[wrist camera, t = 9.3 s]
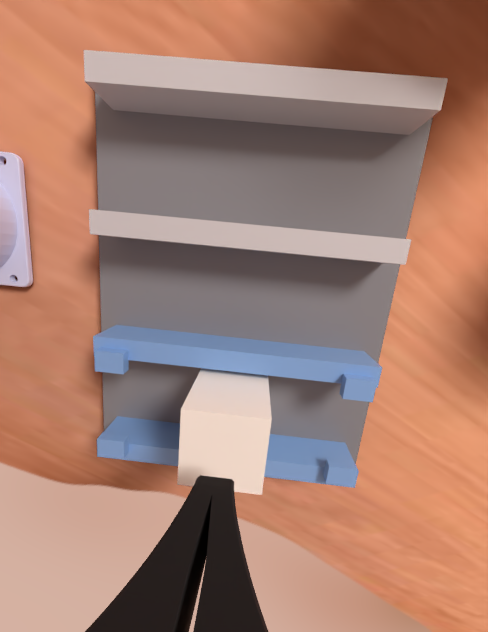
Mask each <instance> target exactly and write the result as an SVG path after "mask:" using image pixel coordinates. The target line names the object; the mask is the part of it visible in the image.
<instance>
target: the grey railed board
mask: <svg viewBox="0 0 488 632" xmlns="http://www.w3.org/2000/svg"><path fill="white" fill-rule="evenodd" d="M84 73H85V82H86V83H87V84H88V85H89V86H90V87H91V88H92V89H93V90H94V91H95V105H96V143H97V182H98V210H93V209H89V223H90V234H95V235H99V258H100V297H101V333H99V334H97V335H95V336H93V343H94V358H95V371H97V372H102V373H103V411H104V432H103V433H102V434H101V435H100V436H99V437H98V438H97V457H105V458H113V459H122V460H130V461H138V462H146V463H155V464H163V465H171V466H178V461H179V439H180V417H181V408H182V406H183V404H184V402H185V400H186V398H187V396H188V394H189V392H190V390H191V388H192V386H193V384H194V382H195V380H196V378H197V376H198V374H199V372H200V370H201V368H205V369H214V370H223V371H232V372H241V373H250V374H259V375H268V381H269V393H270V405H271V416H272V421H271V429H270V436H269V444H268V451H267V459H266V466H265V474H264V477H270V478H279V479H287V480H295V481H304V482H312V483H320V484H328V485H337V486H345V487H353V488H355V484H356V480H357V476H358V469H357V467H356V465H355V464H356V460H357V455H358V451H359V446H360V442H361V437H362V433H363V428H364V424H365V419H366V415H367V410H368V406H369V402H373V398H374V394H375V389H376V387H377V388H378V384H379V379H380V375H381V370H382V367H381V366H380V365H379V364H378V361H379V357H380V352H381V348H382V343H383V339H384V334H385V330H386V325H387V321H388V316H389V312H390V307H391V303H392V298H393V294H394V289H395V285H396V280H397V276H398V271H399V267H400V264H403V265H406V261H407V256H408V252H409V248H410V243H411V240H410V239H406V236H407V231H408V227H409V222H410V218H411V213H412V209H413V204H414V200H415V195H416V191H417V186H418V182H419V177H420V173H421V168H422V164H423V159H424V155H425V151H426V146H427V142H428V137H429V133H430V128H431V124H432V119H433V116H434V115H435V114H437V113H438V112H439V111H440V110H441V107H442V103H443V98H444V94H445V90H446V85H447V81H448V78H438V77H425V76H412V75H399V74H387V73H374V72H361V71H348V70H335V69H322V68H310V67H297V66H284V65H271V64H258V63H245V62H233V61H220V60H207V59H194V58H181V57H169V56H156V55H143V54H130V53H117V52H104V51H92V50H84Z"/></svg>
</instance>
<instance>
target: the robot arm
mask: <svg viewBox="0 0 488 632" xmlns="http://www.w3.org/2000/svg"><path fill="white" fill-rule="evenodd" d="M5 159H6V164H5V165H4V160H5ZM15 276H16V277H17V279H18V281H16V279H15ZM32 283H33V274H32V262H31V250H30V238H29V225H28V213H27V201H26V189H25V177H24V165H23V161H22V159H21V157H19V156H18V155H16V154H14V153H10V152H0V285H7V286H17V287H28V286H30V285H32ZM206 556H207V557H206ZM205 560H206V564H205ZM204 564H205V571H204V577H203V583H202V588H201V594H200V599H199V605H198V610H197V616H196V621H195V626H194V632H268V630H267V627H266V624H265V621H264V618H263V615H262V612H261V609H260V606H259V603H258V600H257V597H256V593H255V590H254V587H253V584H252V580H251V577H250V573H249V569H248V566H247V562H246V558H245V554H244V550H243V545H242V541H241V536H240V531H239V526H238V521H237V515H236V507H235V498H234V481H233V480H232V479H227V478H219V477H210V476H202V475H200V476H199V477H197V479H196V481H195V484H194V486H193V488H192V490H191V492H190V494H189V495H188V497H187V499H186V501H185V502H184V504H183V506H182V508H181V509H180V511H179V512H178V514H177V516H176V517H175V519H174V520H173V522H172V523H171V525H170V527H169V528H168V530H167V531H166V533H165V534H164V536H163V537H162V538H161V540H160V541H159V543H158V544H157V545H156V547H155V548H154V550H153V551H152V552H151V554H150V555H149V557H148V558H147V559H146V561H145V562H144V563H143V564H142V566H141V567H140V568H139V570H138V571H137V572H136V573H135V575H134V576H133V577H132V578H131V580H130V581H129V582H128V583H127V585H126V586H125V587H124V588H123V590H122V591H121V592H120V593H119V594H118V595H117V596H116V598H115V599H114V600H113V601H112V602H111V603H110V605H109V606H108V607H107V608H106V609H105V611H104V612H103V613H102V614H101V615H100V616H99V617H98V618H97V619H96V620H95V622H94V623H93V624H92V625H91V626H90V627H89V628H88V629H87V630H86V631H85V632H189V628H190V624H191V620H192V615H193V611H194V607H195V603H196V598H197V594H198V590H199V585H200V581H201V577H202V573H203V568H204Z"/></svg>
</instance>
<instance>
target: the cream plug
mask: <svg viewBox="0 0 488 632" xmlns="http://www.w3.org/2000/svg"><path fill="white" fill-rule="evenodd" d="M271 421H272V416H271V405H270V393H269V381H268V375H259V374H250V373H241V372H232V371H223V370H214V369H205V368H201V370H200V372H199V374H198V376H197V378H196V380H195V382H194V384H193V386H192V388H191V390H190V392H189V394H188V396H187V398H186V400H185V402H184V404H183V406H182V408H181V417H180V439H179V461H178V482H177V485H185V486H194V484H195V481H196V479H197V477H199V476H200V475H202V476H210V477H219V478H227V479H232V480H233V481H234V491H235V492H243V493H251V494H259V495H262V489H263V482H264V474H265V466H266V459H267V451H268V444H269V436H270V429H271Z"/></svg>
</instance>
